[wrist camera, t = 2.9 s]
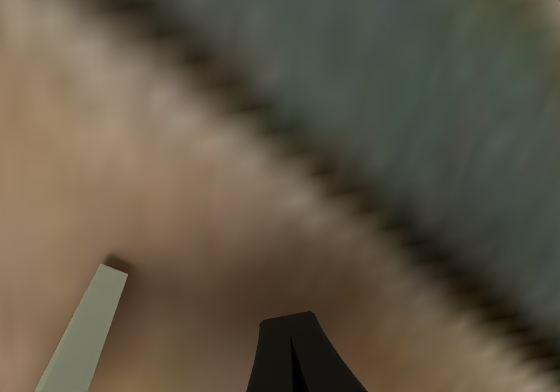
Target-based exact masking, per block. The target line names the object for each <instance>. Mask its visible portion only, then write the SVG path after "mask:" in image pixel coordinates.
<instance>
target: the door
mask: <svg viewBox="0 0 560 392" xmlns="http://www.w3.org/2000/svg"><path fill="white" fill-rule="evenodd" d="M127 276H128V274H126V273H124V272H121V271H119V270H116V269H113V268H111V267H108V266H106V265H103V264H101V263H100V265H99V267H98V269H97V271H96V273H95V275H94V277H93V279H92V280H91V282H90V284H89V286H88V288H87V290H86V292H85V294H84V296H83V298H82V300H81V302H80V304H79V306H78V308H77V309H76V311H75V313H74V315H73V317H72V319H71V321H70V323H69V325H68V327H67V329H66V331H65V333H64V335H63V336H62V338H61V340H60V342H59V344H58V346H57V348H56V350H55V352H54V354H53V356H52V358H51V360H50V362H49V364H48V365H47V367H46V369H45V371H44V373H43V375H42V377H41V379H40V381H39V383H38V385H37V387H36V389H35V391H34V392H88V389H89V386H90V383H91V381H92V378H93V375H94V372H95V369H96V366H97V363H98V360H99V357H100V355H101V352H102V349H103V346H104V343H105V340H106V337H107V334H108V331H109V328H110V326H111V323H112V320H113V317H114V314H115V311H116V308H117V305H118V302H119V299H120V297H121V294H122V291H123V288H124V285H125V282H126V279H127Z"/></svg>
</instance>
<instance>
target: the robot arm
mask: <svg viewBox="0 0 560 392" xmlns="http://www.w3.org/2000/svg"><path fill="white" fill-rule="evenodd" d="M246 392H368V391H367V390H366V389H365V388H364V387H363V386H362V384H361V383H360V382H359V381H358V379H357V378H356V377H355V376H354V374H353V373H352V372H351V370H350V369H349V368H348V367H347V365H346V364H345V363H344V361H343V360H342V359H341V357H340V356H339V354H338V353H337V352H336V350H335V349H334V347H333V346H332V344H331V343H330V341H329V340H328V338H327V337H326V335H325V333H324V332H323V330H322V328H321V326H320V324H319V322H318V321H317V318H316V316H315V314H314V313H312V312H311V311H307V312H302V313H297V314H292V315H287V316H282V317H277V318H271V319H266V320H263V321H262V322H261V323H260V331H259V340H258V346H257V351H256V356H255V361H254V365H253V369H252V373H251V376H250V380H249V384H248V388H247V391H246Z"/></svg>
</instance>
